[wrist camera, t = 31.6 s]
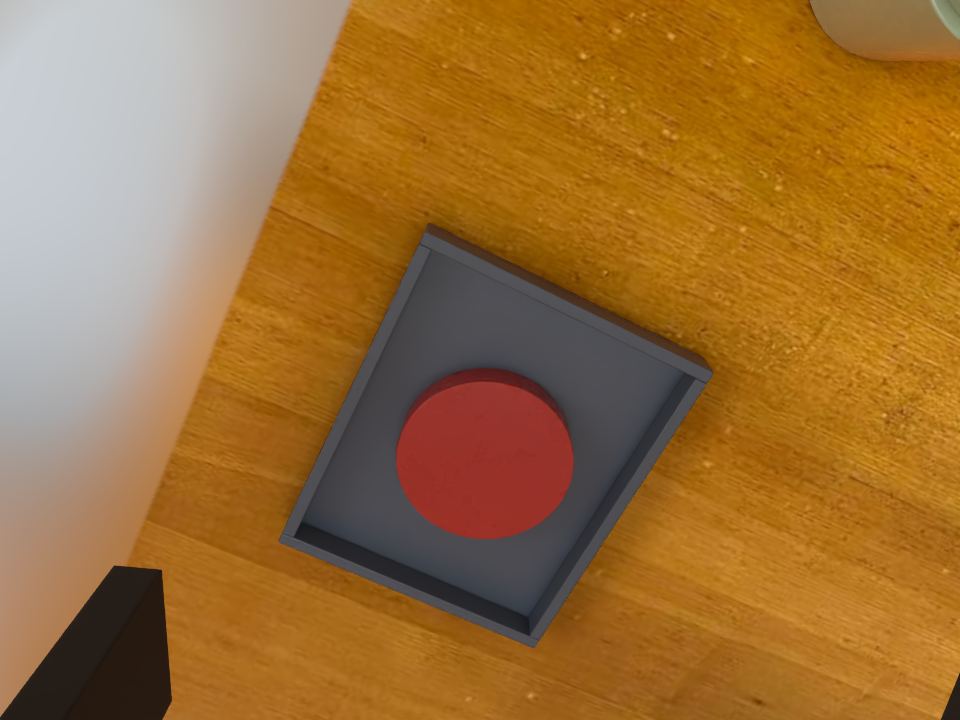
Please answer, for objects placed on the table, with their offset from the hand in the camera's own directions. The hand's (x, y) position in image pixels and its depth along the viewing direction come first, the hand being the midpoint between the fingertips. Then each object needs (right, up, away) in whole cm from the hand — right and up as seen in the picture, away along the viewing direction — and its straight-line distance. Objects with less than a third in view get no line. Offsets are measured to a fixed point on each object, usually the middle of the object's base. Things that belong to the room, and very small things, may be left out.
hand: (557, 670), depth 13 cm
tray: (-1, +1, +26) cm, 26 cm away
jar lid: (-1, 0, +24) cm, 24 cm away
